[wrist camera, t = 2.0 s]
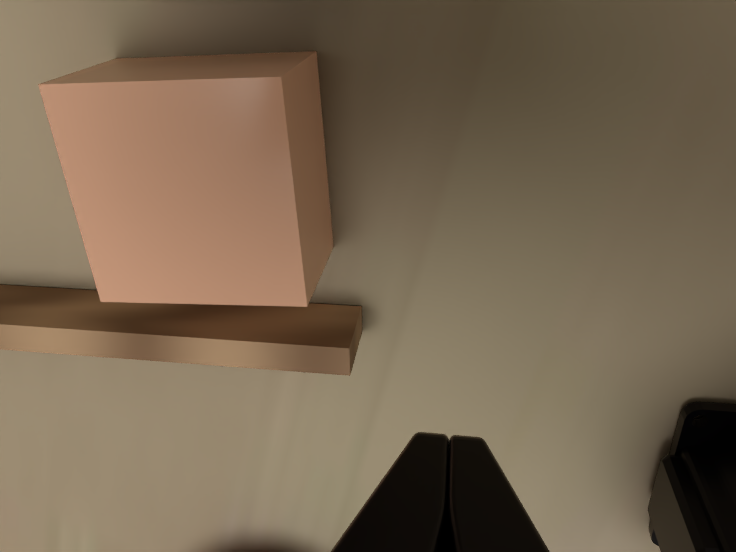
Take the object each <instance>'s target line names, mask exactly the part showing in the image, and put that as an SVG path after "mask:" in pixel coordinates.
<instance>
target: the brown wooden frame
mask: <svg viewBox="0 0 736 552" xmlns="http://www.w3.org/2000/svg"><path fill="white" fill-rule="evenodd" d="M361 334H362V306H348V305H331V304H315V303H309V304H308V306H307V307H296V306H254V305H212V304H170V303H128V302H100V298H99V295H98V291H97V290H83V289H66V288H49V287H33V286H16V285H0V349H3V350H16V351H30V352H43V353H56V354H70V355H83V356H96V357H110V358H123V359H137V360H150V361H163V362H177V363H190V364H204V365H217V366H230V367H244V368H257V369H270V370H284V371H297V372H311V373H324V374H337V375H350V374H351V371H352V367H353V363H354V360H355V356H356V352H357V349H358V345H359V341H360V338H361Z"/></svg>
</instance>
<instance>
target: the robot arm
mask: <svg viewBox="0 0 736 552" xmlns="http://www.w3.org/2000/svg"><path fill="white" fill-rule="evenodd" d="M701 415H703V417H702V418H700V419H696V420H694V418H695V417H697V416H701ZM648 512H649V515H650V519H651V521H650V525H649V533H650V536H651V540H652V541H653V543H654V544H656V545H657V546H659V547H660V551H661V552H736V404H724V403H711V402H693V403H690V404H688V405H686V406H685V407H684V408H683V409H682V411H681V413H680V417H679V420H678V424H677V428H676V431H675V435H674V438H673V442H672V446H671V449H670V453H669V455H666V456H665V457H664V458H663V459H662V460H661V461H660V465H659V469H658V473H657V476H656V480H655V484H654V487H653V491H652V495H651V498H650V502H649V506H648ZM331 552H549V550H548V548H547V546H546V545H545V543H544V541H543V540H542V538H541V536H540V534H539V533H538V531H537V529H536V528H535V526H534V524H533V522H532V521H531V519H530V517H529V516H528V514H527V512H526V510H525V509H524V507H523V505H522V504H521V502H520V500H519V498H518V497H517V495H516V493H515V492H514V490H513V488H512V486H511V485H510V483H509V481H508V480H507V478H506V476H505V474H504V473H503V471H502V469H501V468H500V466H499V464H498V462H497V461H496V459H495V457H494V456H493V454H492V452H491V450H490V449H489V447H488V445H487V444H486V442H485V441H484V440H483V439H482V438H480V437H472V436H460V435H453V436H452V437H451V438H450V440H449V439H448V437H447V436H446V435H445V434H437V433H425V432H418V433H416V434H415V435H414V436H413V437H412V438H411V440H410V441H409V443H408V444H407V445H406V447H405V448H404V450H403V451H402V452H401V454H400V455H399V457H398V458H397V459H396V461H395V462H394V464H393V465H392V466H391V468H390V469H389V471H388V472H387V473H386V475H385V476H384V478H383V479H382V480H381V482H380V483H379V485H378V486H377V487H376V489H375V490H374V492H373V493H372V494H371V496H370V497H369V499H368V500H367V502H366V503H365V504H364V506H363V507H362V509H361V510H360V511H359V513H358V514H357V516H356V517H355V518H354V520H353V521H352V523H351V524H350V525H349V527H348V528H347V530H346V531H345V532H344V534H343V535H342V537H341V538H340V539H339V541H338V542H337V544H336V545H335V546H334V548H333V549H332V551H331Z"/></svg>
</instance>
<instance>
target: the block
mask: <svg viewBox="0 0 736 552" xmlns="http://www.w3.org/2000/svg"><path fill="white" fill-rule="evenodd" d="M38 85H39V89H40V92H41V96H42V99H43V103H44V106H45V110H46V113H47V117H48V120H49V124H50V127H51V130H52V134H53V137H54V141H55V144H56V148H57V151H58V155H59V158H60V162H61V165H62V169H63V172H64V176H65V179H66V183H67V186H68V190H69V193H70V197H71V200H72V204H73V207H74V211H75V214H76V218H77V221H78V225H79V228H80V232H81V235H82V239H83V242H84V246H85V249H86V253H87V256H88V260H89V263H90V267H91V270H92V274H93V277H94V281H95V284H96V288H97V291H98V295H99V298H100V302H128V303H170V304H212V305H254V306H296V307H307V306H308V304H309V302H310V300H311V297H312V295H313V293H314V291H315V288H316V286H317V284H318V281H319V279H320V277H321V275H322V272H323V270H324V268H325V265H326V263H327V261H328V259H329V256H330V254H331V252H332V250H333V247H334V245H333V233H332V222H331V211H330V199H329V188H328V176H327V165H326V154H325V142H324V131H323V119H322V108H321V97H320V85H319V74H318V62H317V51H304V52H277V53H251V54H224V55H197V56H170V57H143V58H116V59H113V60H110V61H107V62H104V63H101V64H98V65H95V66H92V67H89V68H86V69H83V70H80V71H77V72H74V73H71V74H68V75H65V76H62V77H59V78H56V79H53V80H50V81H47V82H44V83H41V84H38Z"/></svg>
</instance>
